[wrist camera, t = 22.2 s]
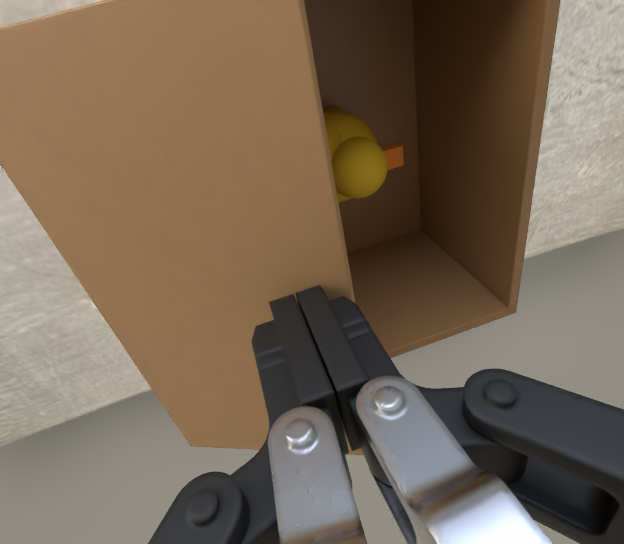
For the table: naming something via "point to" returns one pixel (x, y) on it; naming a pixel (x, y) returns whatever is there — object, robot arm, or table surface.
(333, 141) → the duck
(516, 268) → the carton
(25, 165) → the flap
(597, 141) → the table surface
